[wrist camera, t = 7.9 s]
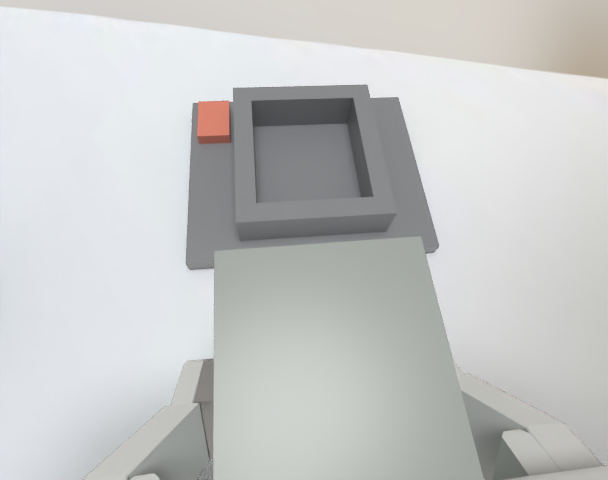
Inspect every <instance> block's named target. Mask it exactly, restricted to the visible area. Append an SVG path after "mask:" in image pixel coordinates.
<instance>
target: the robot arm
mask: <svg viewBox="0 0 608 480" xmlns="http://www.w3.org/2000/svg"><path fill="white" fill-rule="evenodd" d="M453 362H454V366H455V370H456V374H457V378H458V381H459V385H460V389H461V393H462V397H463V401H464V405H465V408H466V412H467V416H468V420H469V424H470V428H471V432H472V435H473V439H474V443H475V447H476V451H477V455H478V459H479V462H480V466H481V470H482V474H483V478H485V479H486V480H608V465H607V466H604V465H603V464H602V463H601V462H600V461H599V460H598V459H597V457H596V456H595V455H594V454H593V453H592V452H591V451H590V450H589V449H588V448H587V447H586V446H585V445H584V444H583V443H582V442H581V441H580V439H579V438H578V437H577V436H576V435H575V434H574V433H573V432H572V431H571V430H570V429H569V428H568V427H567V426H566V425H565V424H564V423H563V422H561V421H559V420H557V419H555V418H553V417H551V416H549V415H548V414H546V413H544V412H542V411H540V410H538V409H536V408H534V407H532V406H530V405H528V404H526V403H524V402H523V401H521V400H519V399H517V398H515V397H513V396H511V395H509V394H507V393H505V392H503V391H501V390H499V389H497V388H496V387H494V386H492V385H490V384H488V383H486V382H484V381H482V380H480V379H478V378H476V377H474V376H472V375H470V374H465V375H464V373H463V372H462V371H461V369H460V368H459V367H458V365H457V364H456V363H455V361H454V360H453ZM213 425H214V359H205V360H204V359H203V360H191V361H186V362H185V364H184V365H183V368H182V371H181V375H180V378H179V381H178V384H177V387H176V390H175V393H174V396H173V399H172V403H171V406H165V407H164V408H162V409H161V410H160V411H159V412H158V413H157V414H156V415H155V416H153V417H152V418H151V419H150V420H149V421H148V422H147V423H146V424H144V425H143V426H142V427H141V428H140V429H139V430H138V431H137V432H135V433H134V434H133V435H132V436H131V437H130V438H129V439H128V440H127V441H125V442H124V443H123V444H122V445H121V446H120V447H119V448H118V449H116V450H115V451H114V452H113V453H112V454H111V455H110V456H109V457H107V458H106V459H105V460H104V461H103V462H102V463H101V464H100V465H98V466H97V467H96V468H95V469H94V470H93V471H92V472H91V473H89V474H88V475H87V476H86V477H85V478H84V479H83V480H197V479H198V477H199V476H200V474H201V473H202V471H203V470H204V468H205V467H206V465H207V464H208V462H209V459H211V458H213Z"/></svg>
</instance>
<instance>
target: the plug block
mask: <svg viewBox="0 0 608 480" xmlns="http://www.w3.org/2000/svg"><path fill="white" fill-rule="evenodd" d="M213 480H484V478H483V474H482V470H481V466H480V462H479V459H478V455H477V451H476V447H475V443H474V439H473V435H472V432H471V428H470V424H469V420H468V416H467V412H466V408H465V405H464V401H463V397H462V393H461V389H460V385H459V381H458V378H457V374H456V370H455V366H454V362H453V358H452V354H451V350H450V347H449V343H448V339H447V335H446V331H445V327H444V323H443V320H442V316H441V312H440V308H439V304H438V300H437V296H436V293H435V289H434V285H433V281H432V277H431V273H430V269H429V266H428V262H427V258H426V254H425V250H424V246H423V242H422V239H421V236H416V237H402V238H388V239H374V240H360V241H346V242H332V243H318V244H304V245H290V246H276V247H262V248H249V249H235V250H221V251H214V425H213Z"/></svg>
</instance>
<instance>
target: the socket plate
mask: <svg viewBox="0 0 608 480" xmlns="http://www.w3.org/2000/svg"><path fill="white" fill-rule="evenodd" d="M416 236H421V239H422V242H423V246H424V250H425V253H433V252H434V251H435V250H436V249H437V248H438V247H439V244H438V240H437V236H436V233H435V229H434V225H433V222H432V218H431V215H430V211H429V207H428V204H427V200H426V196H425V193H424V189H423V186H422V182H421V178H420V175H419V171H418V167H417V164H416V160H415V157H414V153H413V149H412V146H411V142H410V138H409V135H408V131H407V128H406V124H405V120H404V117H403V113H402V109H401V106H400V102H399V99H398V97H392V98H370V94H369V90H368V86H367V85H334V86H294V87H254V88H233V102H229V101H206V102H198V103H193V110H192V133H191V156H190V179H189V202H188V225H187V248H186V265H187V266H188V268H189V269H190V270H191V269H205V268H214V251H221V250H235V249H249V248H262V247H276V246H290V245H304V244H318V243H332V242H346V241H360V240H374V239H388V238H402V237H416Z"/></svg>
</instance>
